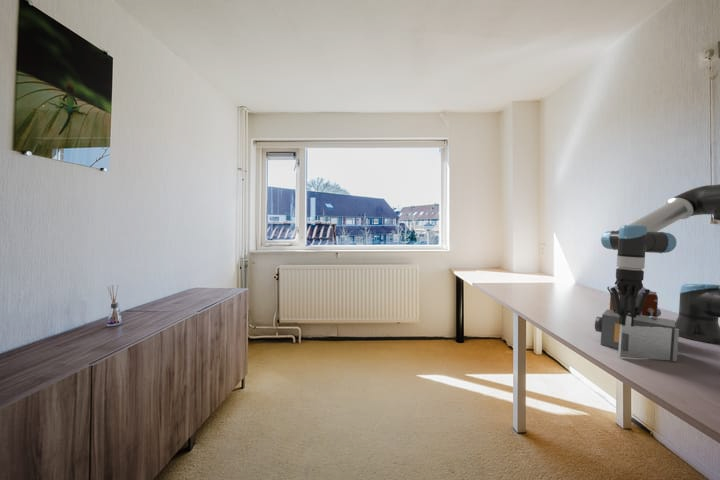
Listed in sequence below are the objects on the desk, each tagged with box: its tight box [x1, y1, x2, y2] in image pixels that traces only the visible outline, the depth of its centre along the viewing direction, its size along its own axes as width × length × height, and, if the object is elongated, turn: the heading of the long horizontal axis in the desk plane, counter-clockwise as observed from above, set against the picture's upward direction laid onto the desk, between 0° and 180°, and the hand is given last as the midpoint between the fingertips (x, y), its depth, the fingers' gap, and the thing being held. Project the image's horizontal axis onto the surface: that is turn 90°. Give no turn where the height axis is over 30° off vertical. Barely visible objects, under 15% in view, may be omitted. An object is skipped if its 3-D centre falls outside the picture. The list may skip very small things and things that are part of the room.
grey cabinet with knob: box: [594, 309, 680, 362], centre depth 120 cm, size 13×24×13 cm, turn 45°
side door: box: [617, 325, 672, 361], centre depth 109 cm, size 2×16×11 cm, turn 85°
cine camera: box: [609, 289, 662, 318], centre depth 134 cm, size 9×19×20 cm, turn 78°
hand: (625, 334), depth 113 cm, fingers closed
